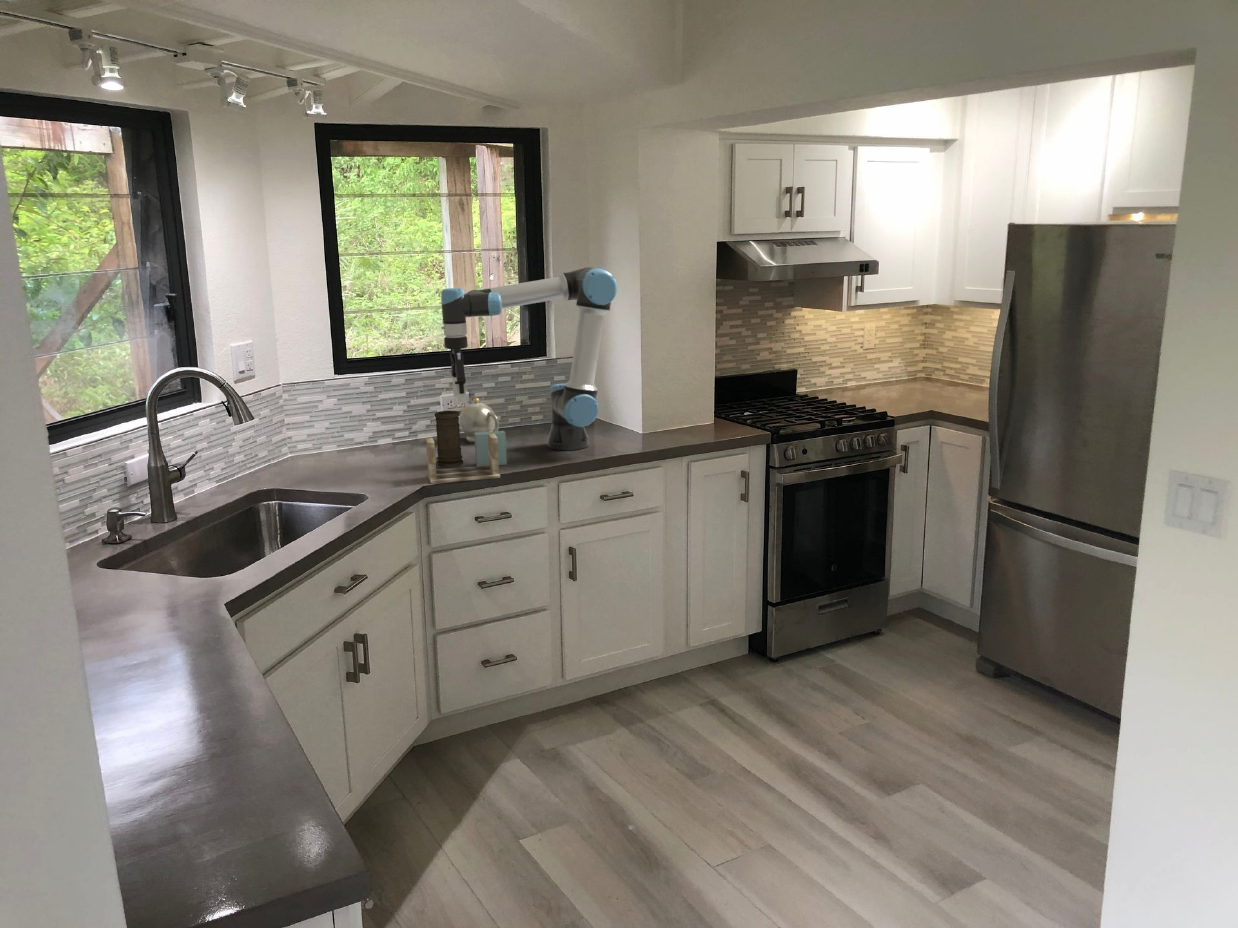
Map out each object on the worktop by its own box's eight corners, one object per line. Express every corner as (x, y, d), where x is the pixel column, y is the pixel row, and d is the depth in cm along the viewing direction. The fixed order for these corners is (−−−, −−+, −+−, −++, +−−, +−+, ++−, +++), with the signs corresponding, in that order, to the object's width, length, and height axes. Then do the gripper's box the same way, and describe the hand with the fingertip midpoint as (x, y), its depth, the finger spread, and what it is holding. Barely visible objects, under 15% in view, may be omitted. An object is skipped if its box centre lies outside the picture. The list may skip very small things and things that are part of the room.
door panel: (505, 462, 332) (503, 430, 330) (506, 464, 329) (505, 432, 326) (476, 464, 330) (474, 432, 327) (477, 466, 326) (475, 435, 324)
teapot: (451, 441, 364) (448, 398, 360) (476, 435, 375) (474, 393, 371) (486, 447, 354) (484, 403, 350) (511, 440, 364) (509, 397, 360)
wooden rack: (494, 469, 322) (493, 432, 319) (500, 477, 312) (498, 438, 309) (427, 475, 317) (425, 436, 313) (431, 483, 306) (428, 444, 303)
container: (458, 468, 325) (455, 415, 321) (432, 467, 327) (429, 414, 322) (467, 461, 333) (464, 410, 329) (442, 460, 335) (439, 409, 331)
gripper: (440, 332, 329) (445, 394, 334) (447, 341, 306) (452, 407, 311) (462, 331, 331) (466, 392, 336) (471, 339, 308) (475, 405, 313)
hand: (459, 399), depth 324 cm, fingers open, 13 cm apart
